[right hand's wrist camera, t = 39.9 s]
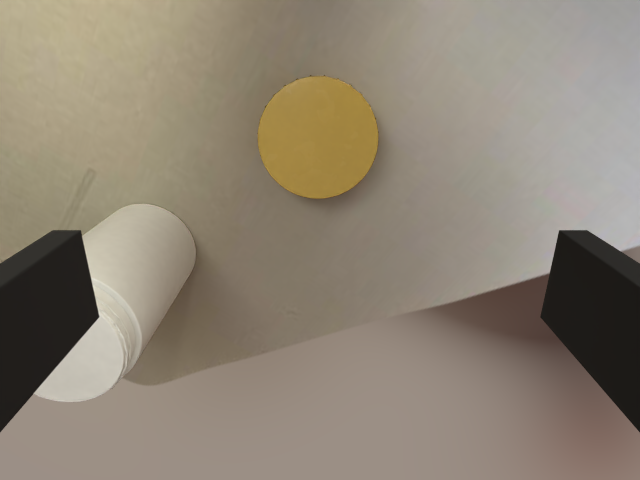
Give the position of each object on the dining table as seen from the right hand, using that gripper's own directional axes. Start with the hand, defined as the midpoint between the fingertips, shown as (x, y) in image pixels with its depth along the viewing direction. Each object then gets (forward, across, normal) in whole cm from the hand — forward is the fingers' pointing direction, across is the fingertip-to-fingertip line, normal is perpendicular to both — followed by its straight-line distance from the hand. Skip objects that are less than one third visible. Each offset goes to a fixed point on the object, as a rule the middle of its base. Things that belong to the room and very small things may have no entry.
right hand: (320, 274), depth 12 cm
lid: (+24, 0, 0) cm, 24 cm away
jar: (+26, +16, +10) cm, 32 cm away
